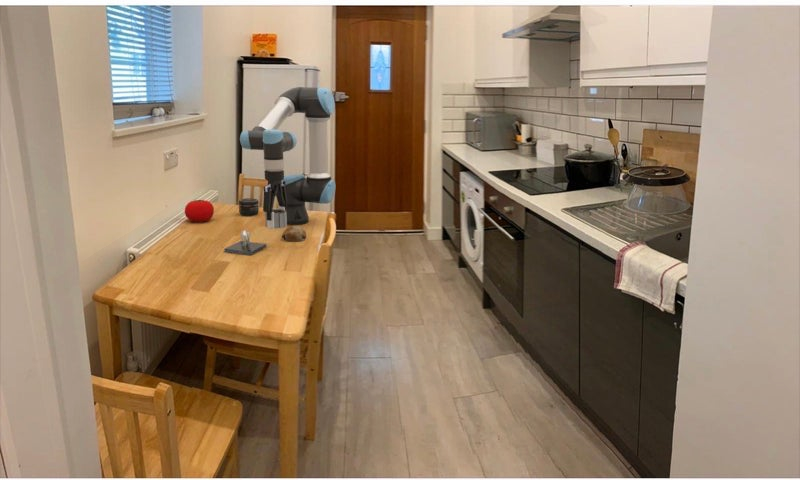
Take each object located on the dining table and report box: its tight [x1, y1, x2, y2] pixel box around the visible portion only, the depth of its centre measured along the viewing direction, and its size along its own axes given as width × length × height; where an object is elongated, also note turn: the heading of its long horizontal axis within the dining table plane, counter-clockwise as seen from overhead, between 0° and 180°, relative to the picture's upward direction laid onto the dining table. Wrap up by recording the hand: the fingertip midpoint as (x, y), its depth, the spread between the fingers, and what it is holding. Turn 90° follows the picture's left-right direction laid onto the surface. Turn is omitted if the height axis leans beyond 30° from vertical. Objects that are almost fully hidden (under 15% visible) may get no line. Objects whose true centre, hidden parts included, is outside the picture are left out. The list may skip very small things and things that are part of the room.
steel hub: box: [264, 208, 288, 229], centre depth 220 cm, size 8×8×6 cm
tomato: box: [184, 199, 215, 223], centre depth 265 cm, size 14×13×10 cm
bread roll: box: [281, 225, 307, 243], centre depth 240 cm, size 10×10×8 cm
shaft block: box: [223, 229, 267, 256], centre depth 222 cm, size 12×12×8 cm
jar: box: [238, 197, 260, 217], centre depth 281 cm, size 10×10×8 cm
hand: (276, 224), depth 221 cm, fingers closed on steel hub, 8 cm apart
